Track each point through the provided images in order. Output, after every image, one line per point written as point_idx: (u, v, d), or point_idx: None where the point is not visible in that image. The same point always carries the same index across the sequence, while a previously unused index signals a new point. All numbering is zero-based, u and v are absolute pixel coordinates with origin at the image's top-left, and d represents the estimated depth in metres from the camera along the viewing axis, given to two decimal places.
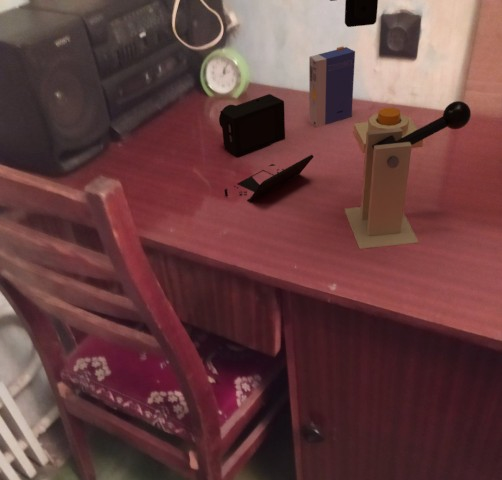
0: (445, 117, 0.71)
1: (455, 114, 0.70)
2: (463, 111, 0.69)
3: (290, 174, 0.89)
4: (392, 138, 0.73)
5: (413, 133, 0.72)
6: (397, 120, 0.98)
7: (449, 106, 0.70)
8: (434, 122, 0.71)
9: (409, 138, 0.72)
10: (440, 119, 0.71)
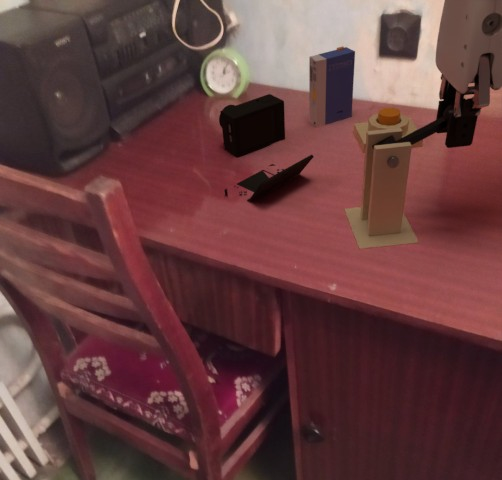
0: (445, 117, 0.71)
1: None
2: None
3: (290, 174, 0.89)
4: (392, 138, 0.73)
5: (413, 133, 0.72)
6: (397, 120, 0.98)
7: (449, 106, 0.70)
8: (434, 122, 0.71)
9: (409, 138, 0.72)
10: (440, 119, 0.71)
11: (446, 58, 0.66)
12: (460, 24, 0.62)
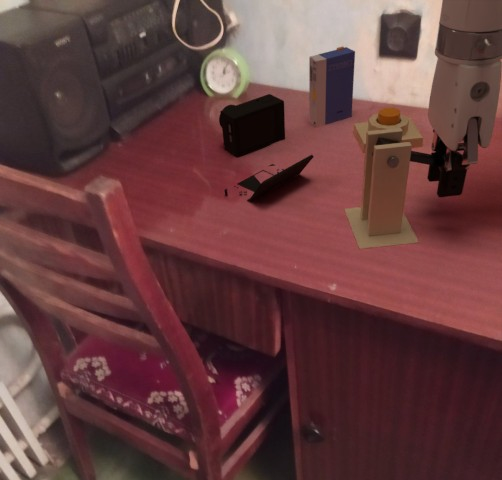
0: (445, 158, 0.74)
1: None
2: None
3: (290, 174, 0.89)
4: None
5: (415, 152, 0.74)
6: (397, 120, 0.98)
7: None
8: (434, 156, 0.75)
9: (411, 153, 0.73)
10: (439, 157, 0.75)
11: (437, 117, 0.71)
12: (450, 89, 0.66)
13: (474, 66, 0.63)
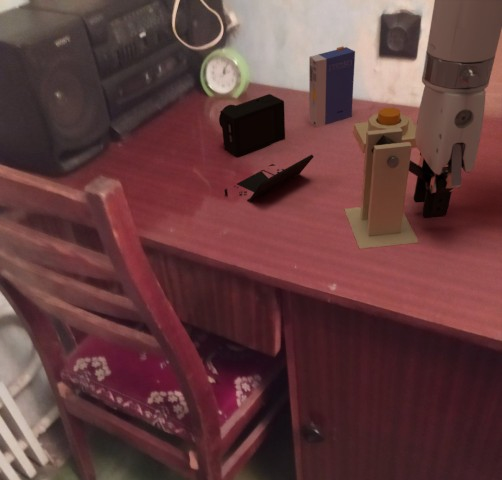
0: None
1: None
2: None
3: (290, 174, 0.89)
4: None
5: (410, 161, 0.75)
6: (397, 120, 0.98)
7: None
8: (426, 171, 0.76)
9: None
10: (430, 173, 0.76)
11: (424, 141, 0.73)
12: (436, 115, 0.68)
13: (458, 94, 0.65)
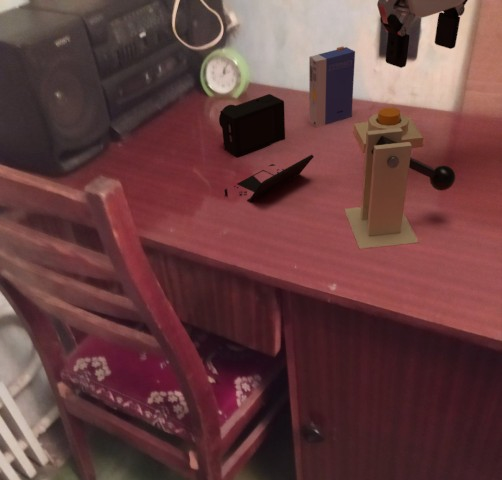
0: (438, 171, 0.76)
1: (448, 175, 0.75)
2: (453, 179, 0.76)
3: (290, 174, 0.89)
4: None
5: (412, 158, 0.75)
6: (397, 120, 0.98)
7: (446, 166, 0.76)
8: (428, 166, 0.76)
9: None
10: (433, 169, 0.76)
11: None
12: None
13: None
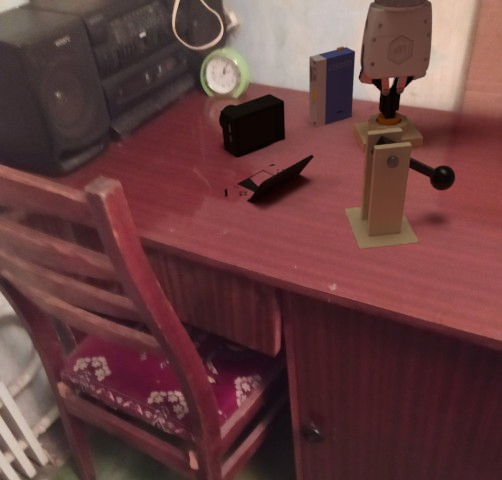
0: (438, 171, 0.76)
1: (448, 175, 0.75)
2: (453, 179, 0.76)
3: (290, 174, 0.89)
4: None
5: (412, 158, 0.75)
6: (397, 123, 0.98)
7: (446, 166, 0.76)
8: (428, 166, 0.76)
9: None
10: (433, 169, 0.76)
11: None
12: None
13: (371, 4, 0.87)
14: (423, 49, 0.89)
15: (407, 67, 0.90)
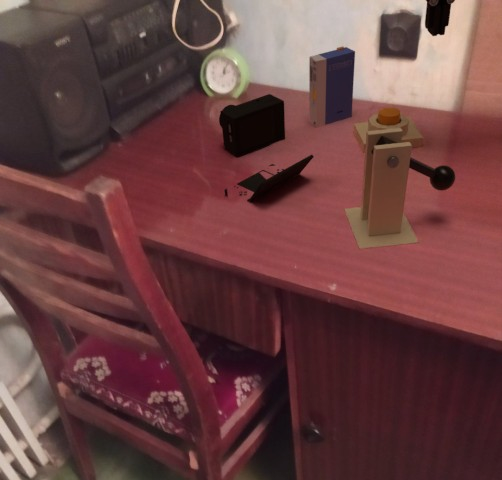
0: (438, 171, 0.76)
1: (448, 175, 0.75)
2: (453, 179, 0.76)
3: (290, 174, 0.89)
4: None
5: (412, 158, 0.75)
6: (397, 120, 0.98)
7: (446, 166, 0.76)
8: (428, 166, 0.76)
9: None
10: (433, 169, 0.76)
11: None
12: None
13: None
14: None
15: None
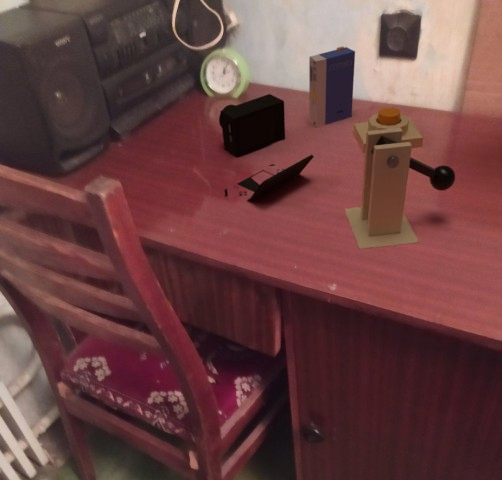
0: (438, 171, 0.76)
1: (448, 175, 0.75)
2: (453, 179, 0.76)
3: (290, 174, 0.89)
4: None
5: (412, 158, 0.75)
6: (397, 120, 0.98)
7: (446, 166, 0.76)
8: (428, 166, 0.76)
9: None
10: (433, 169, 0.76)
11: None
12: None
13: None
14: None
15: None
